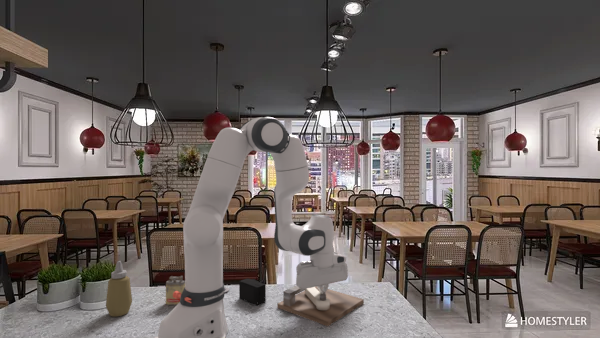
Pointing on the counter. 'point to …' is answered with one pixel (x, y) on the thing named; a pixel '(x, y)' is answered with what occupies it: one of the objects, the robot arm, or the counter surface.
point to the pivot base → (307, 309)
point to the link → (317, 299)
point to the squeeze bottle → (118, 292)
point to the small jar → (174, 289)
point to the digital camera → (252, 291)
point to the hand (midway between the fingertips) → (322, 296)
